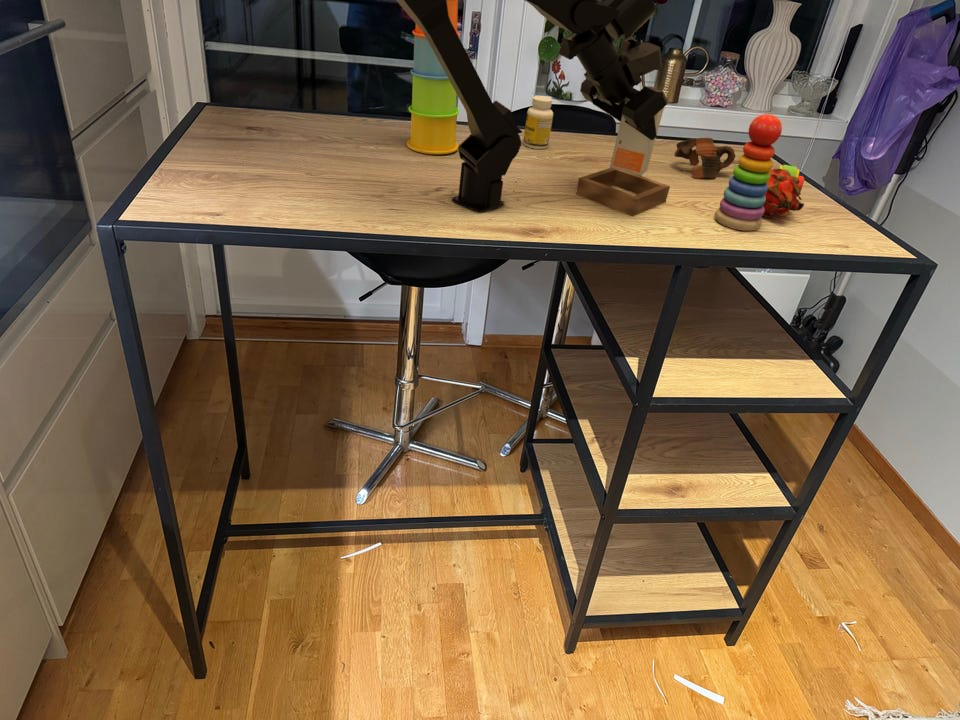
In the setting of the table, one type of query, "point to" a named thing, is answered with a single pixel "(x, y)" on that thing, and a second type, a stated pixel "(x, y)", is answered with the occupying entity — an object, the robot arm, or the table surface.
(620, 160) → the skincare box
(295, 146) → the table surface
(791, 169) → the toy measuring tape
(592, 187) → the square wooden frame
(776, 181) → the dragon fruit
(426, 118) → the stacking cups
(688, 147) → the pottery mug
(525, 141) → the supplement bottle
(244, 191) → the table surface
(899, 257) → the table surface
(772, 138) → the stacking toy
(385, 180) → the table surface
